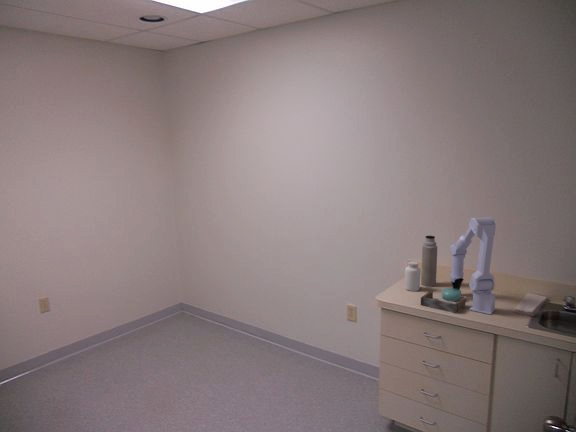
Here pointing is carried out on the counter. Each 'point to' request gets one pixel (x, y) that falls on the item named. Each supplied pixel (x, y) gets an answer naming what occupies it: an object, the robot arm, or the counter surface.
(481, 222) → the robot arm
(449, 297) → the teal flat rounded lump
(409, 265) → the pill bottle
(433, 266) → the thermos bottle
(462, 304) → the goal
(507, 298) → the counter surface
